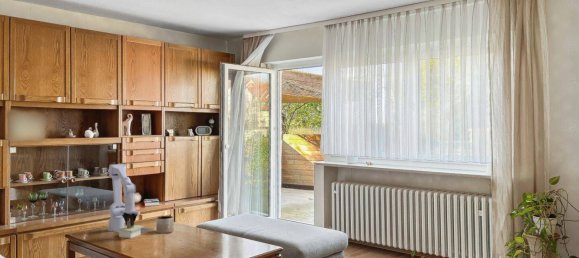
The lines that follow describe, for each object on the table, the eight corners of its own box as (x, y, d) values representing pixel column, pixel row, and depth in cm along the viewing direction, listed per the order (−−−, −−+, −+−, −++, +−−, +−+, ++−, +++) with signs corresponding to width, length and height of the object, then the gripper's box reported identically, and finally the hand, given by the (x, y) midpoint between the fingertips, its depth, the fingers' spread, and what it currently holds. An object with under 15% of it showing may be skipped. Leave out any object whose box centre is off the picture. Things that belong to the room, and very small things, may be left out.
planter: (170, 234, 287) (170, 219, 287) (154, 234, 287) (154, 219, 287) (175, 230, 298) (175, 215, 298) (159, 230, 298) (159, 215, 298)
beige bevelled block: (119, 237, 278) (119, 230, 278) (129, 234, 286) (129, 227, 286) (130, 239, 274) (130, 231, 274) (140, 235, 283) (140, 228, 283)
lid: (117, 230, 278) (116, 223, 277) (129, 225, 288) (129, 218, 287) (131, 232, 274) (131, 224, 273) (143, 227, 284) (143, 219, 284)
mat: (127, 232, 292) (127, 231, 292) (139, 228, 303) (139, 227, 303) (142, 233, 288) (142, 233, 288) (154, 229, 299) (154, 228, 299)
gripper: (143, 203, 281) (143, 224, 281) (124, 202, 286) (125, 223, 286) (135, 205, 275) (135, 227, 275) (117, 203, 280) (117, 225, 280)
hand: (129, 225), depth 280 cm, fingers closed on lid, 3 cm apart
